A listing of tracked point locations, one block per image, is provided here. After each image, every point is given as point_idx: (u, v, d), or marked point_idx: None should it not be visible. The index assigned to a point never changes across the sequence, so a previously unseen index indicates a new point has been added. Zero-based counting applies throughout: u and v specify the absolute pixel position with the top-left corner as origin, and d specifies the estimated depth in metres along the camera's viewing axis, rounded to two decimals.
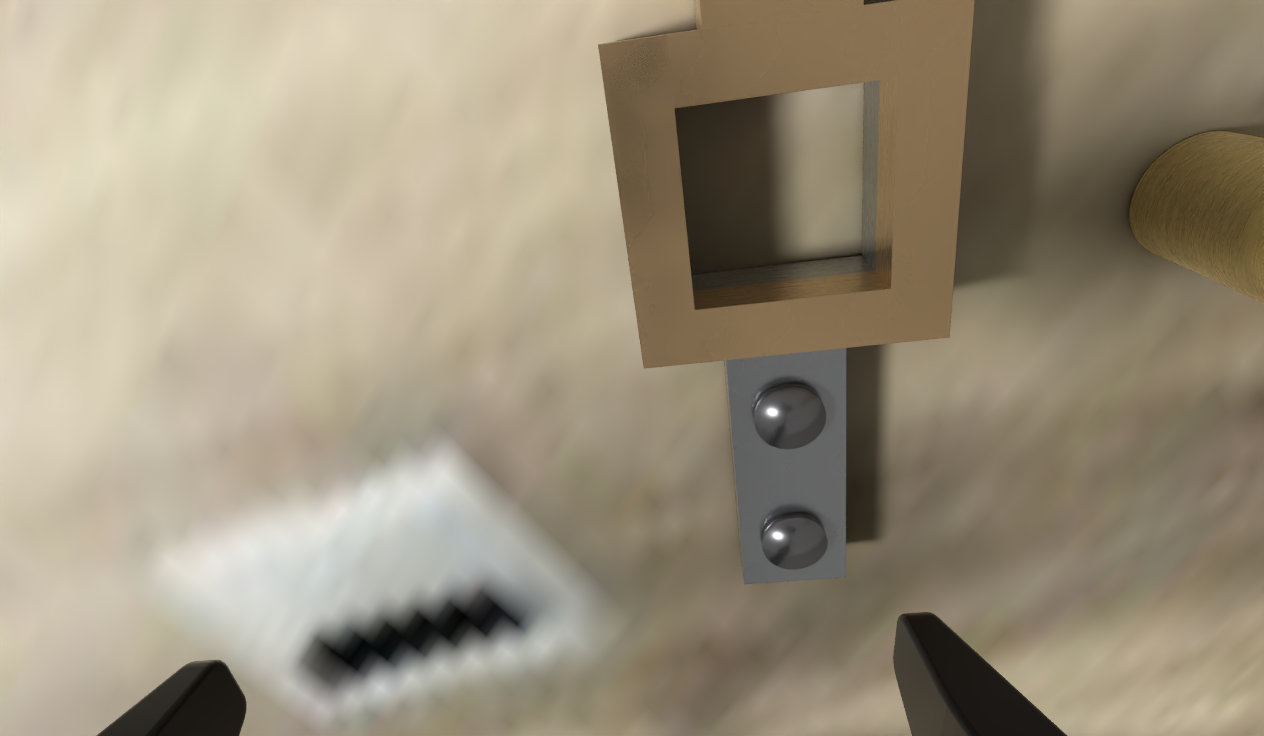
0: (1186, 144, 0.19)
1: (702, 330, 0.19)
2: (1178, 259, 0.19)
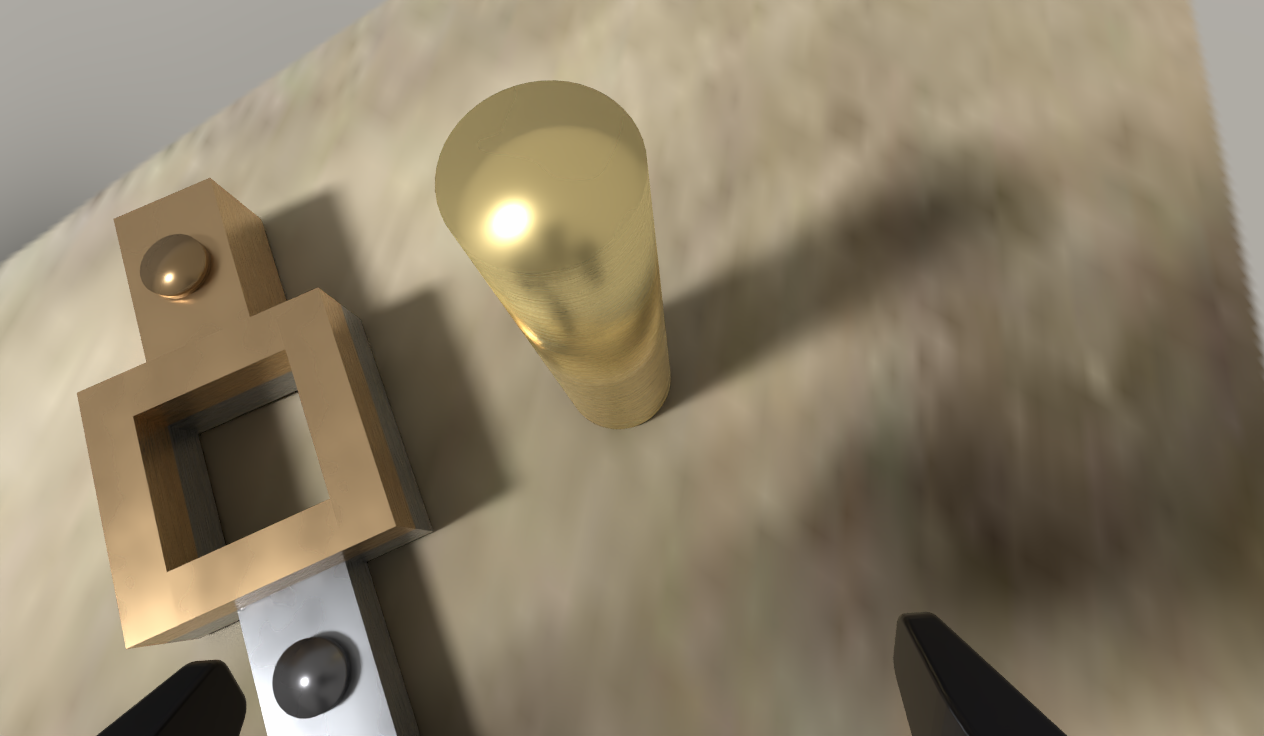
0: None
1: (176, 590, 0.20)
2: (588, 412, 0.22)
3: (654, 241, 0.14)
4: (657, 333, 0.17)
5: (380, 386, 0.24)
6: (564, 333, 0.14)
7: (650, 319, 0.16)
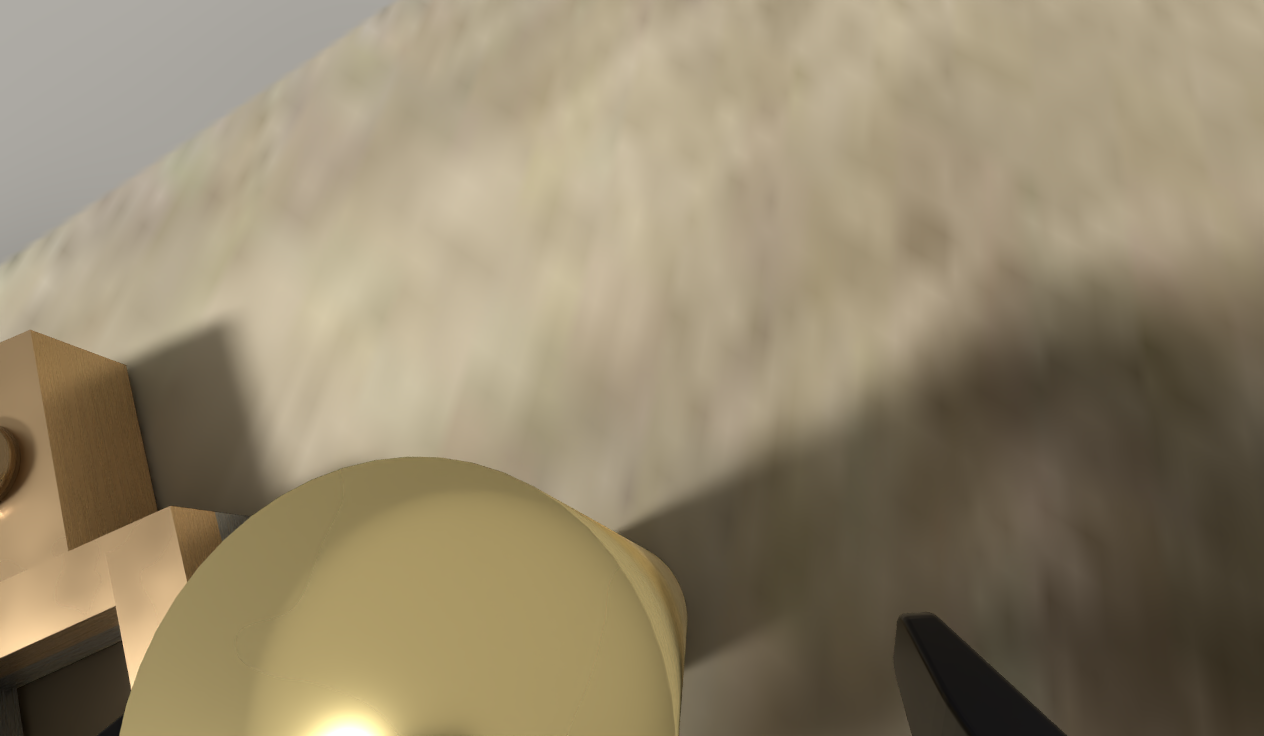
0: None
1: None
2: None
3: None
4: None
5: None
6: None
7: None
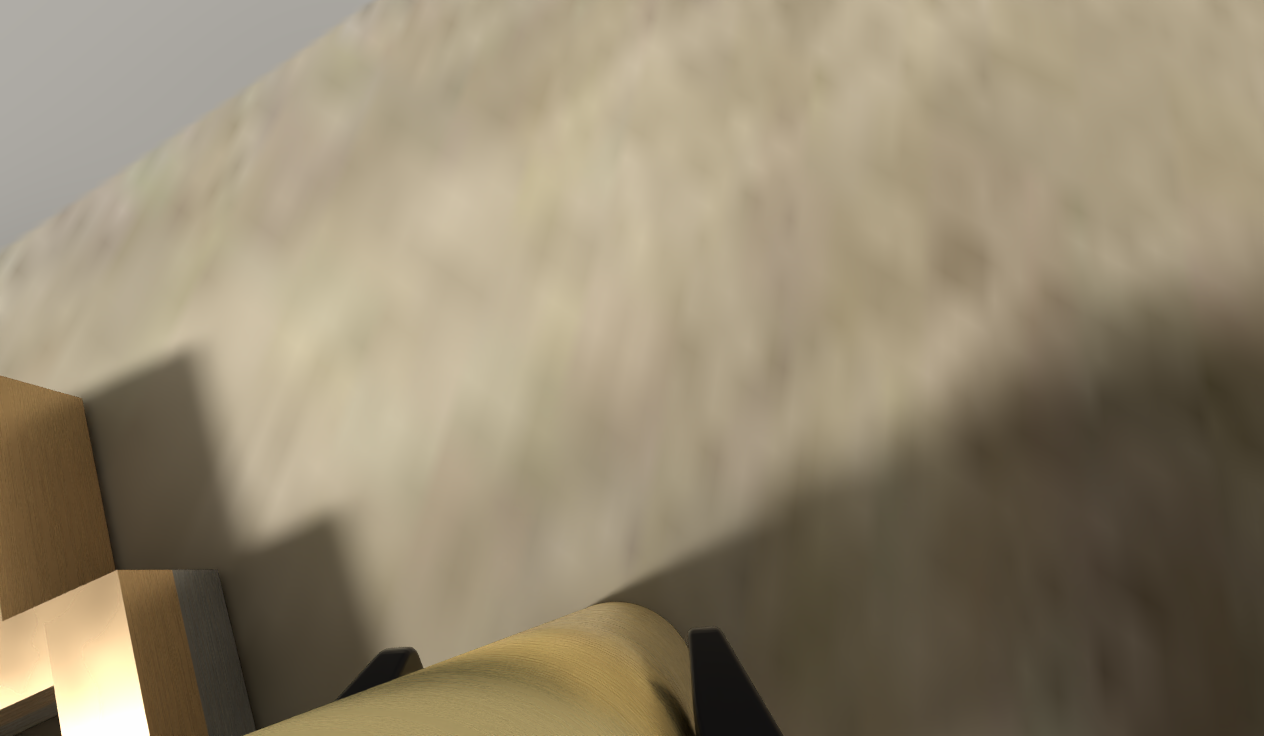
0: None
1: None
2: None
3: None
4: None
5: (238, 695, 0.15)
6: None
7: None
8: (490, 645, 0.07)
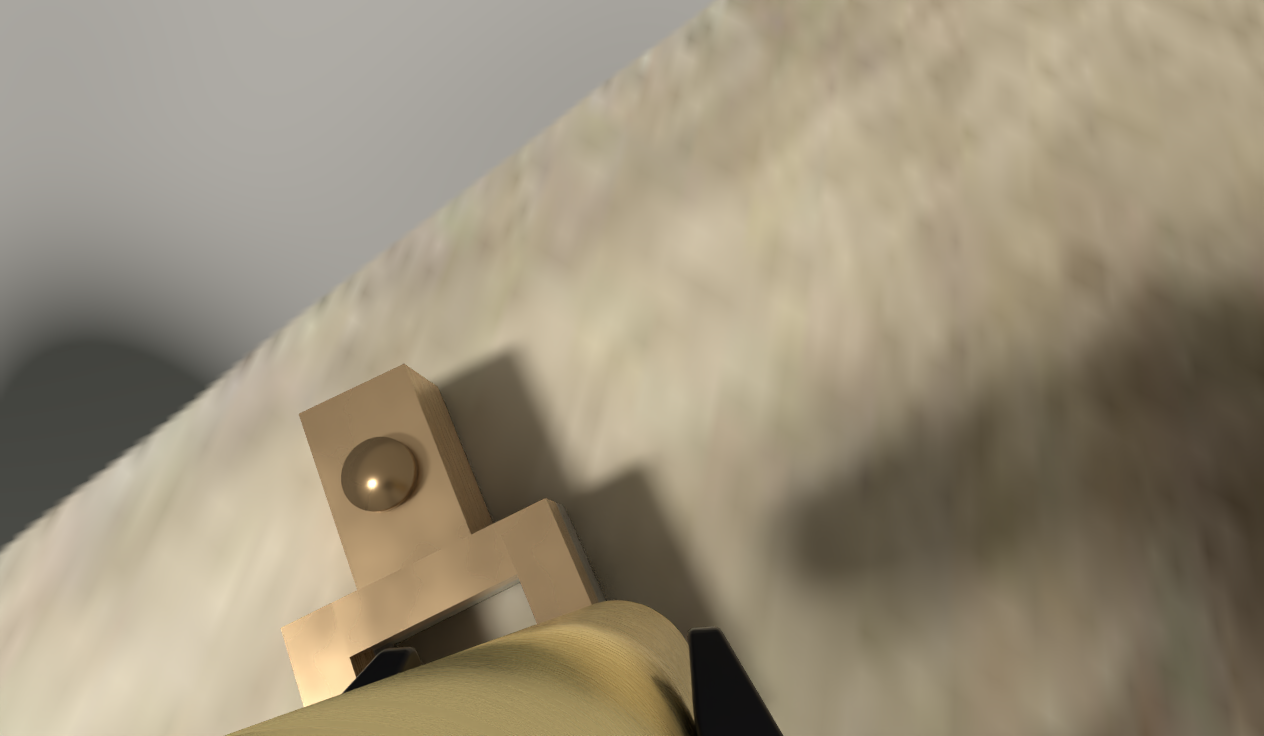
0: None
1: None
2: None
3: None
4: None
5: (599, 590, 0.22)
6: None
7: None
8: (493, 641, 0.07)
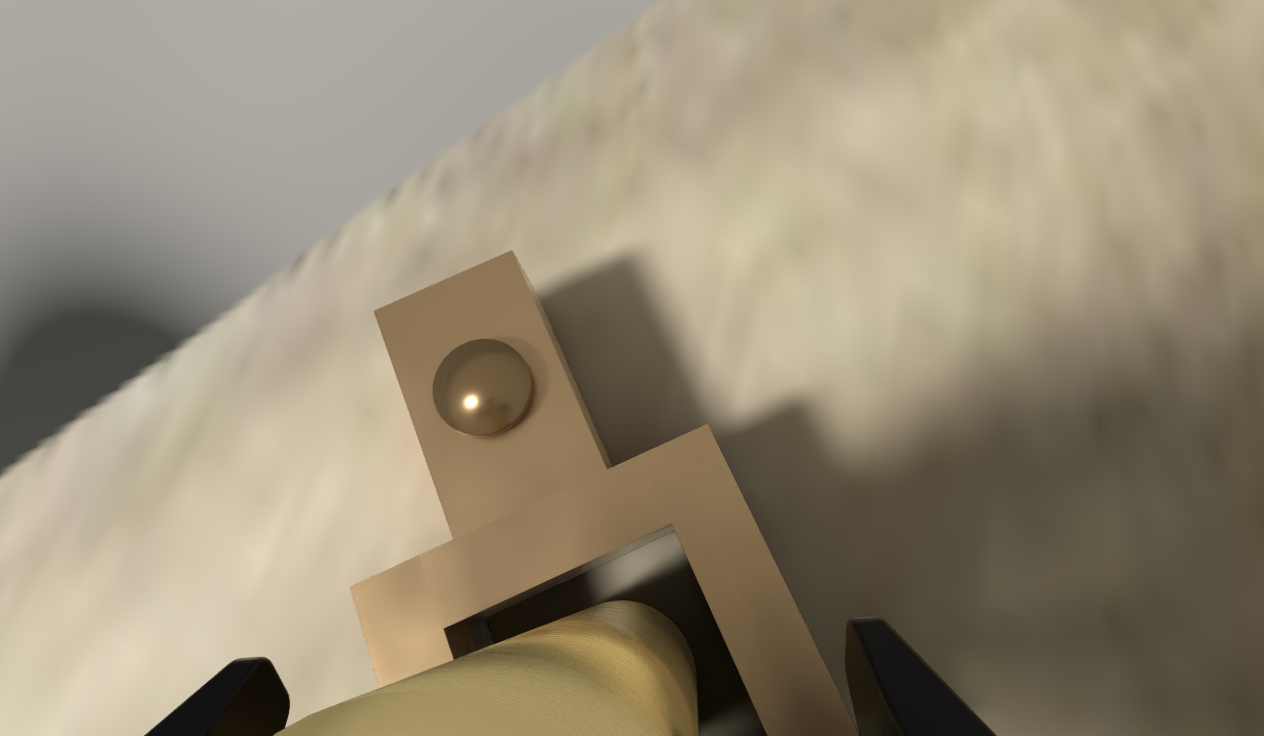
0: None
1: None
2: None
3: None
4: None
5: None
6: None
7: None
8: (520, 635, 0.09)
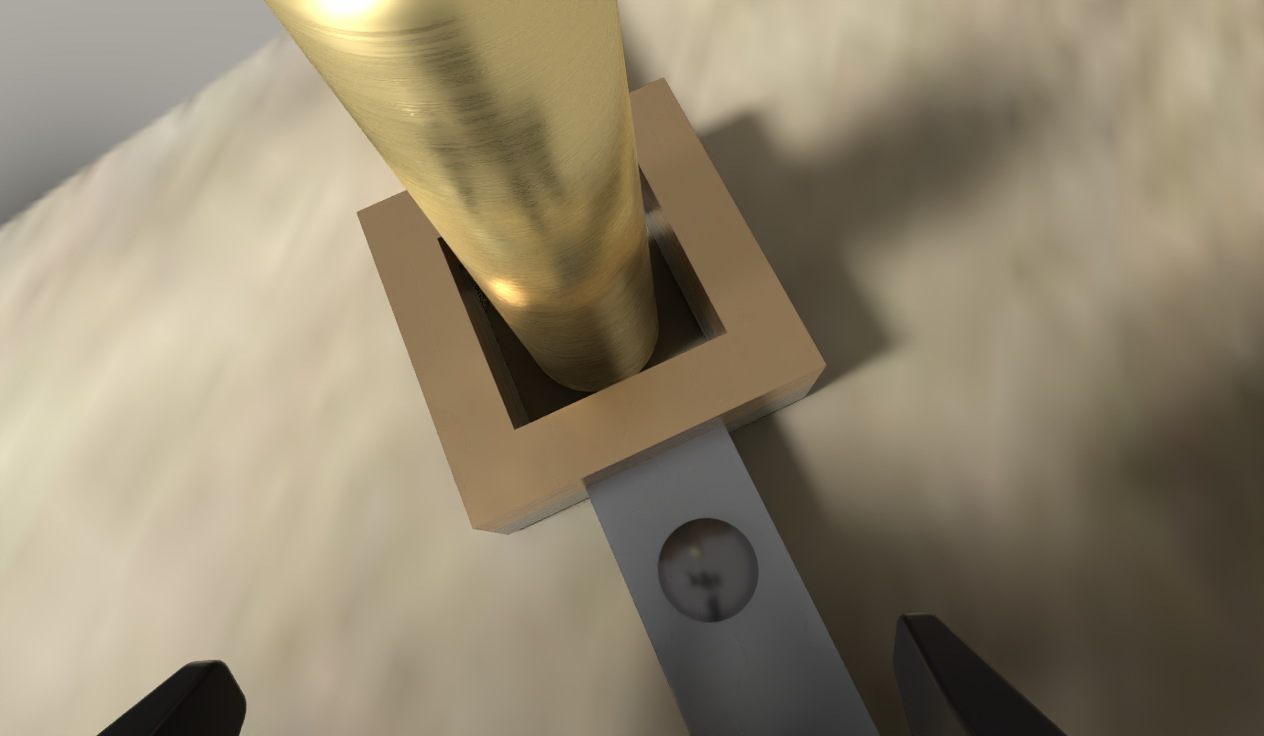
0: None
1: (531, 452, 0.15)
2: (550, 367, 0.17)
3: (620, 49, 0.08)
4: (634, 238, 0.12)
5: None
6: (480, 203, 0.09)
7: (621, 204, 0.11)
8: None
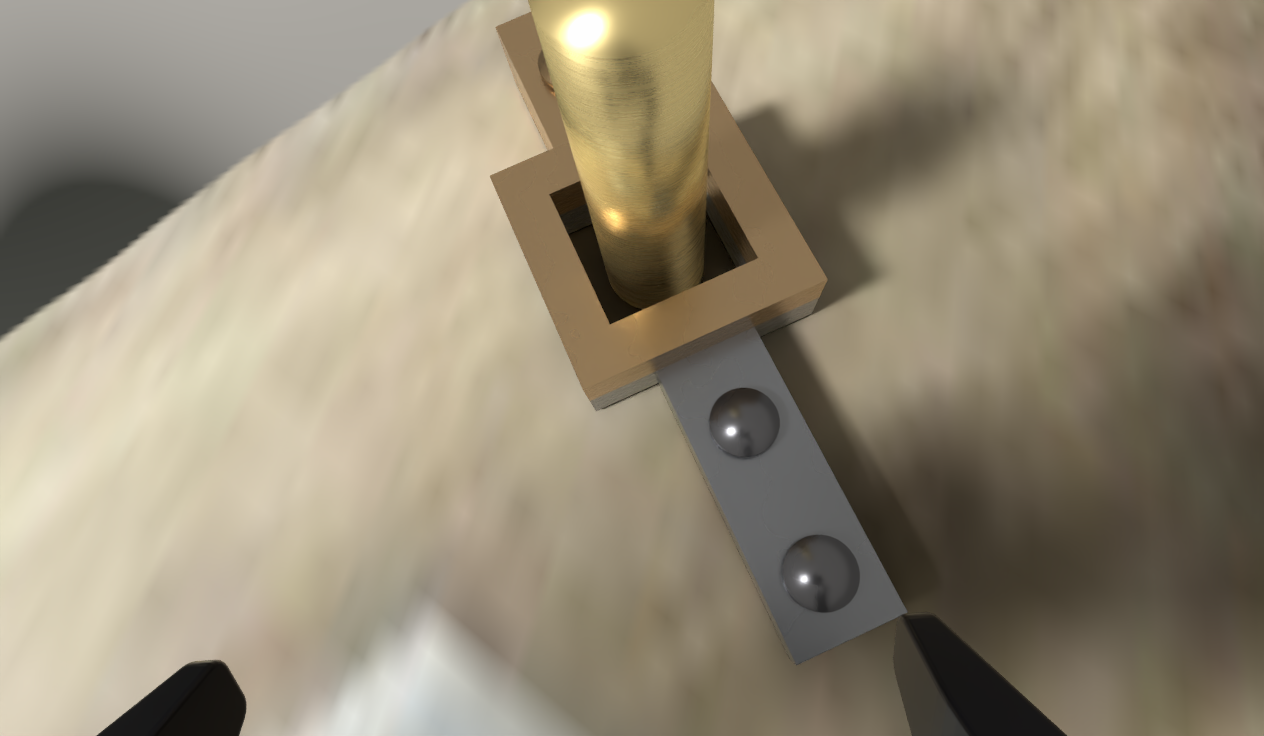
0: None
1: (622, 339, 0.21)
2: (629, 287, 0.23)
3: (711, 65, 0.15)
4: (703, 184, 0.19)
5: None
6: (628, 152, 0.15)
7: (700, 158, 0.17)
8: None
